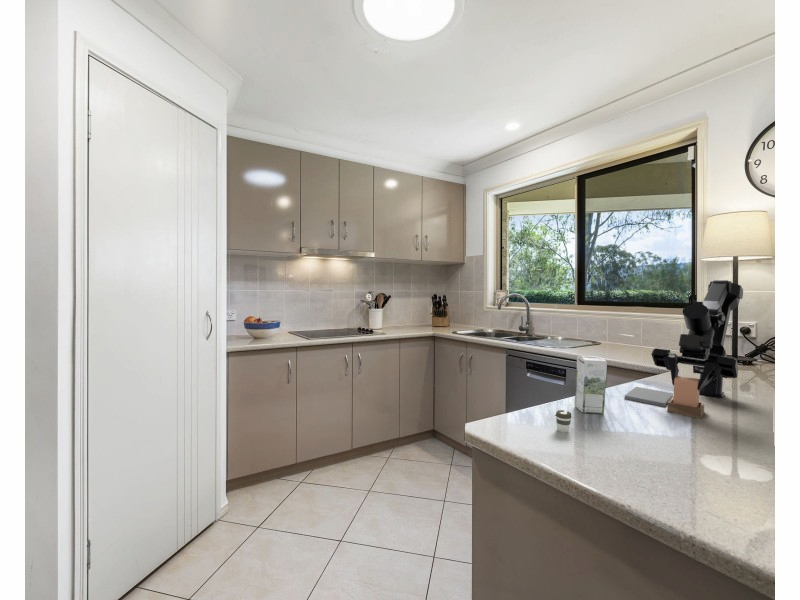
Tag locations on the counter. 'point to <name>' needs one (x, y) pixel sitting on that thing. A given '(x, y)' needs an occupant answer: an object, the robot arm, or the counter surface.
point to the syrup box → (590, 384)
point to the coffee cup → (563, 420)
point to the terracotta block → (686, 391)
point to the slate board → (649, 396)
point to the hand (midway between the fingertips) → (685, 386)
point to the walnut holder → (686, 409)
